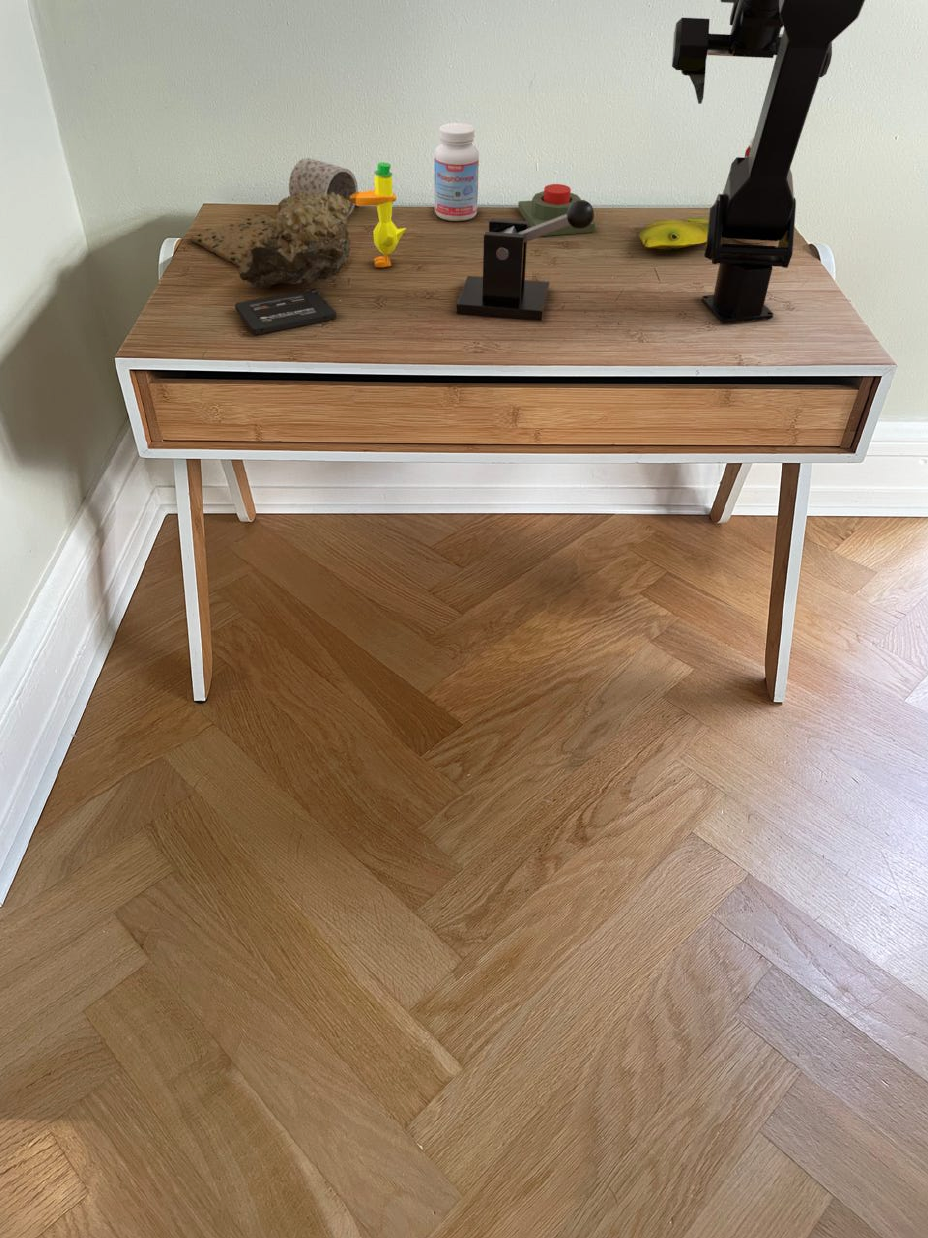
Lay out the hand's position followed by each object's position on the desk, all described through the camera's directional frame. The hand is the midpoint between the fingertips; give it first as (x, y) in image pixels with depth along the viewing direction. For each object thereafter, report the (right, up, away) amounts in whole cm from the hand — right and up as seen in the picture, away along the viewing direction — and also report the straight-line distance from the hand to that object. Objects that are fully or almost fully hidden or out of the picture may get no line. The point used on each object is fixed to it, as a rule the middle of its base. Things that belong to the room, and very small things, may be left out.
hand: (735, 102), depth 124 cm
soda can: (+3, -16, +4) cm, 17 cm away
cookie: (-63, -18, +2) cm, 66 cm away
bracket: (-31, -30, -11) cm, 44 cm away
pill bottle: (-37, -11, +9) cm, 39 cm away
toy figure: (-46, -23, -4) cm, 52 cm away
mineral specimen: (-55, -24, -6) cm, 60 cm away
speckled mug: (-57, -7, +9) cm, 58 cm away
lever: (-26, -25, -17) cm, 40 cm away
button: (-23, -10, +6) cm, 26 cm away
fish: (-11, -15, +4) cm, 19 cm away
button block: (-23, -12, +8) cm, 27 cm away
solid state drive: (-56, -32, -15) cm, 66 cm away
